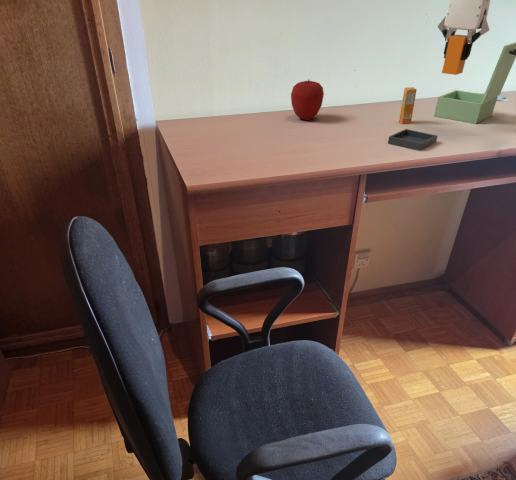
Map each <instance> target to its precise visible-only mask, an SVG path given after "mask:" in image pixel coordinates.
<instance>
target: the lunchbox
mask: <svg viewBox="0 0 516 480" xmlns="http://www.w3.org/2000/svg"><path fill="white" fill-rule="evenodd" d="M484 94H485V93H478V92H470V91H464V90H459V89H455V90H452V91H450V92H447V93H445V94H442V95H440V96H437V100H436V104H435V108H434V114H433V117H438V118H443V119H448V120H454V121H459V122H464V123H469V124H475V125H476V124H479V123H480V122H482V121H484V120H486V119H488V118H490V117H491V116H493V113H494V110H495V106H496V104H497V100H498V96H497V97H495V98H493V99H491V100H488V101H486V102H484V103H482V102H481V101H482V99H483V96H484Z"/></svg>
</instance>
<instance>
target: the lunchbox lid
mask: <svg viewBox="0 0 516 480" xmlns="http://www.w3.org/2000/svg"><path fill="white" fill-rule="evenodd" d="M515 60H516V41H515V42H511V43H507V44H505V45H503V47H502V50H501V53H500V54H499V57H498V59H497V63H496V65H495V67H494V70H493V72H492V75H491V76H490V79H489V82H488V84H487V86H486V89H485V92H484V93H483V94H484V96H483V99H482V101H481V102H482V103H484V102H486V101H488V100H491V99H493V98H495V97H497V98H498V97H499V96H500V95H501V93H502V90H503V88H504V86H505V84H506V81H507V79H508V77H509V74H510V73H511V69H512V68H513V65H514V63H515Z"/></svg>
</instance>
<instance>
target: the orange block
mask: <svg viewBox="0 0 516 480" xmlns="http://www.w3.org/2000/svg"><path fill="white" fill-rule="evenodd" d="M466 43H467V34H465V35H464V34H455V35H453V36H450V39H449V43H448V48H447V52H446V56H445V58H444V61H443V66H442V70H441V73H442V74H446V75H454V76H457V75H460V74H462V73H463V72H464V68H465V65H466V60H461V56H462V52H463V48H464V45H465V44H466Z"/></svg>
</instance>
